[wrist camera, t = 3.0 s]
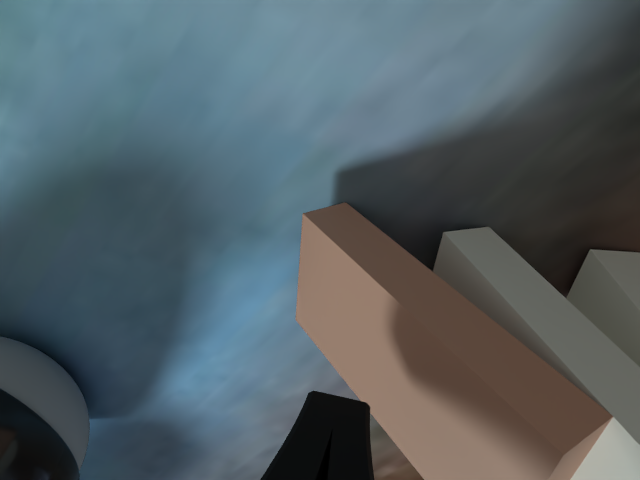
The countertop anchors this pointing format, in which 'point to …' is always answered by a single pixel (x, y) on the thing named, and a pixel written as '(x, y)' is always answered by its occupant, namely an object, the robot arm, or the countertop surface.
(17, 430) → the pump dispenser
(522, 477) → the end domino
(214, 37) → the countertop surface
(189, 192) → the countertop surface
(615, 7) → the countertop surface
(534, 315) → the domino
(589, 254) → the domino
